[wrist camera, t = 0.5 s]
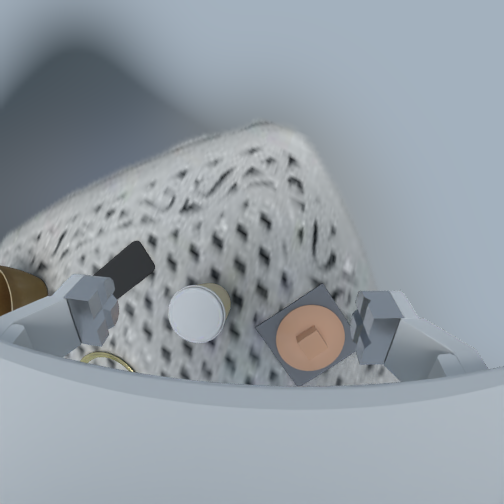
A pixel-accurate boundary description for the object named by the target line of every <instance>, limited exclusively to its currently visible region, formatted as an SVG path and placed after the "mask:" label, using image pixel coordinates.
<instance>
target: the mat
mask: <svg viewBox="0 0 504 504" xmlns="http://www.w3.org/2000/svg"><path fill="white" fill-rule="evenodd" d="M304 305H320V306H323V307H326V308H328V309H329V310H331V311H332V312H334V313H335V314H336V315H337V317H338V318H339V319H340V321H341V323H342V325H343V327H344V332H345V341H344V345H343V348H342V351H341V353H340V354H339V356H338V357H337V358H336V359H335V360H334V361H333V362H332V363H331V364H329V365H328V366H326V367H324V368H322V369H319V370H314V371H303V370H299V369H296V368H294V367H292V366H290V365H289V364H287V363H286V362H285V361H284V360H283V359H282V357H281V356H280V354H279V352H278V349H277V345H276V334H277V330H278V327H279V325H280V323H281V321H282V320H283V318H284V317H285V316H286V315H287V314H288V313H289V312H291V311H292V310H294V309H296V308H298V307H300V306H304ZM255 328H256V329H257V331H258V332H259V334H260V335H261V337H262V338H263V339H264V341H265V342H266V344H267V345H268V346H269V348H270V349H271V351H272V352H273V354H274V355H275V356H276V358H277V359H278V361H279V362H280V363H281V365H282V366H283V368H284V369H285V370H286V372H287V373H288V374H289V376H290V377H291V379H292V380H293V381H294V383H295V384H296V385H297V386H301V385H303V384H305V383H306V382H308V381H310V380H311V379H313V378H315V377H316V376H318V375H319V374H321V373H323V372H324V371H326V370H327V369H329V368H331V367H332V366H334V365H335V364H337V363H338V362H340V361H342V360H343V359H345V358H346V357H348V356H349V355H351V354H352V353H354V352H355V350H356V346H357V344H356V343H354V342H353V341H352V337H351V331H350V328H351V327H350V325H349V324H348V322H347V320H346V319H345V317H344V316H343V314H342V313H341V311H340V309H339V308H338V306H337V305H336V303H335V302H334V300H333V299H332V297H331V296H330V294H329V292H328V291H327V289H326V288H325V286H324V285H323V283H322V284H320V285H319V286H318V287H316V288H315V289H313V290H312V291H310V292H309V293H307V294H306V295H304V296H303V297H301V298H300V299H298V300H297V301H295V302H294V303H292V304H291V305H289V306H288V307H286V308H285V309H283V310H282V311H280V312H278V313H277V314H275V315H274V316H272V317H271V318H269V319H268V320H266V321H264V322H263V323H261V324H260V325H258V326H257V327H255Z"/></svg>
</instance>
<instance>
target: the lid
mask: <svg viewBox="0 0 504 504" xmlns="http://www.w3.org/2000/svg"><path fill="white" fill-rule="evenodd" d="M344 341H345V332H344V327H343V325H342V323H341V321H340V319H339V318H338V317H337V315H336V314H335V313H334V312H332V311H331V310H329V309H328V308H326V307H323V306H320V305H304V306H300V307H298V308H296V309H294V310H292V311H291V312H289V313H288V314H287V315H286V316H285V317H284V318H283V320H282V321H281V323H280V325H279V327H278V330H277V334H276V345H277V349H278V352H279V354H280V356H281V357H282V359H283V360H284V361H285V362H286V363H287V364H289V365H290V366H292V367H294V368H296V369H299V370H303V371H314V370H319V369H322V368H324V367H326V366H328V365H329V364H331V363H332V362H333V361H334V360H335V359H336V358H337V357H338V356H339V354H340V353H341V351H342V348H343V345H344Z"/></svg>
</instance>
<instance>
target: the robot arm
mask: <svg viewBox="0 0 504 504" xmlns="http://www.w3.org/2000/svg"><path fill="white" fill-rule="evenodd" d="M114 290H115V287H114V282H113V280H112V279H111V278H109V277H100V276H91V275H83V274H73V275H72V276H71V277H70V278H69V279H68V280H67V281H66V282H65V283H64V284H63V285H62V286H61V287H60V288H59V289H58V290H57V291H56V292H55V293H54V294H53V295H52V296H46V297H44V298H42V299H39V300H37V301H35V302H32V303H30V304H28V305H25V306H23V307H21V308H18V309H16V310H14V311H11V312H9V313H7V314H4V315H2V316H0V504H504V366H503V367H498V368H493V369H488V367H487V366H486V364H485V363H484V361H483V359H482V358H481V356H480V355H479V353H478V352H477V350H476V349H475V348H473V347H471V346H470V345H468V344H466V343H465V342H463V341H461V340H460V339H458V338H456V337H455V336H453V335H451V334H450V333H448V332H446V331H445V330H443V329H441V328H440V327H438V326H436V325H434V324H432V323H431V322H429V321H428V320H426V319H424V318H419V317H418V315H417V313H416V312H415V310H414V309H413V307H412V305H411V304H410V302H409V301H408V299H407V297H406V296H405V294H404V293H403V292H402V291H359V292H358V294H357V297H356V301H355V303H356V306H357V308H358V309H357V310H356V311H355V312H354V313H353V314H352V319H351V328H350V331H351V337H352V341H353V342H354V343H356V344H357V346H356V350H355V351H356V354H357V358H358V361H359V364H360V365H363V364H384V366H385V367H386V368H387V369H388V370H389V371H390V372H391V373H393V374H394V375H395V376H396V377H397V378H398V379H399V380H400V381H401V382H396V383H384V384H369V385H350V386H264V385H244V384H229V383H216V382H205V381H195V380H186V379H178V378H170V377H162V376H155V375H149V374H142V373H136V372H130V371H124V370H119V369H114V368H108V367H103V366H98V365H94V364H89V363H84V362H80V361H75V360H71V359H67V358H63V357H64V356H65V355H67V354H68V353H70V352H71V351H72V350H74V349H75V348H77V347H78V346H80V345H81V343H82V344H88V345H95V346H101V347H102V345H103V344H104V342H105V340H106V339H107V337H108V336H109V331H108V329H110V328H112V327H113V326H115V324H116V322H117V320H118V315H119V305H118V300H117V299H116V298H115V297H114V296H113V292H114Z"/></svg>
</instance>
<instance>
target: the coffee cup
mask: <svg viewBox="0 0 504 504" xmlns="http://www.w3.org/2000/svg"><path fill="white" fill-rule="evenodd" d="M230 307H231V301H230V297H229V295H228V293H227V291H226V290H225V289H224V288H223V287H221V286H220V285H217V284H214V283H205V284H199V285H191V286H186V287H184V288H182V289H180V290H179V291H178V292H176V293H175V295H174V296H173V297H172V299H171V301H170V304H169V308H168V317H169V321H170V324H171V326H172V328H173V329H174V331H175V332H176V333H177V334H178V335H179V336H180V337H182V338H183V339H185V340H187V341H189V342H193V343H204V342H208V341H210V340H212V339H214V338H215V337H216V336H217V335H218V334H219V333H220V332H221V330H222V329H223V326H224V323H225V320H226V318H227V316H228V314H229V311H230Z"/></svg>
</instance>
